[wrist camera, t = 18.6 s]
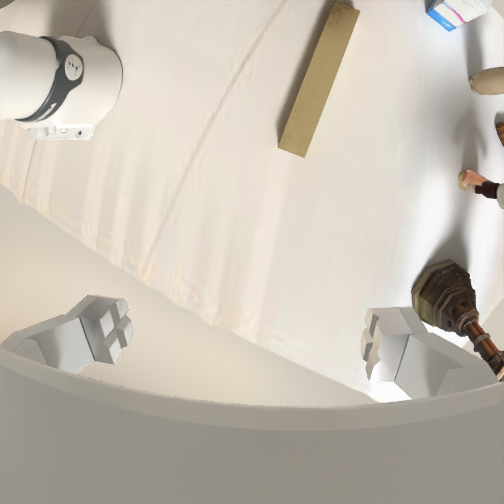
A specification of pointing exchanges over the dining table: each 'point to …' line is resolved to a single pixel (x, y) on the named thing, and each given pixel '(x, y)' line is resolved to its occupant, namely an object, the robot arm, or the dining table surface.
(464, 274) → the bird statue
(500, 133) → the croissant
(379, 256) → the dining table surface
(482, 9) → the ink box
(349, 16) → the brass bar
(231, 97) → the dining table surface
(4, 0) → the bowl
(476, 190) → the grandmother figurine
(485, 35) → the dining table surface
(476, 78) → the handle
